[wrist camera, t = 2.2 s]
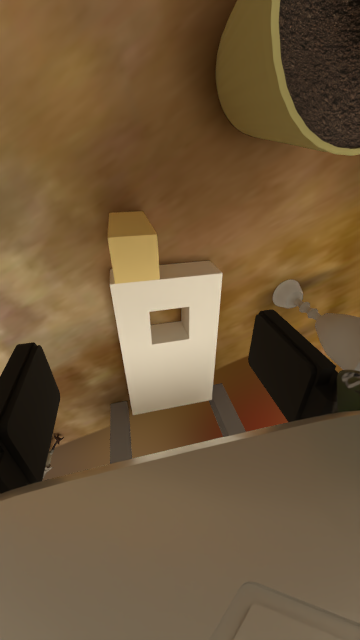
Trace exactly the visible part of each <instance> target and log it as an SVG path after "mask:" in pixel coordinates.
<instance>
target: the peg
mask: <svg viewBox="0 0 360 640" xmlns="http://www.w3.org/2000/svg"><path fill="white" fill-rule="evenodd" d="M107 238H108V244H109V250H110V256H111V262H112V269H113V275H114V281H115V284H119V283H129V282H139V281H149V280H159V279H160V274H159V257H158V240H157V233H156V232H155V230H154V228H153V227H152V225H151V224H150V222H149V220H148V219H147V217H146V216H145V214H144V212H143V211H134V212H114V213H109V223H108V237H107Z"/></svg>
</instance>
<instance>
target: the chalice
mask: <svg viewBox="0 0 360 640" xmlns="http://www.w3.org/2000/svg"><path fill="white" fill-rule="evenodd" d="M302 299H303V291H302V290H301V287H300V285H299V283H298V282H297V281H295V280H286V281H284V282H282V283H281V284H280V285H279V286H278V287H277V288H276V289H275V291H274V294H273V302H274V304H275V305H276V306H279V307H286V308H293V307H296V306H298V307H299V308H300V309H299V310H300V312H306V313H307V314H308V317H309V318H313V319H315V320H316V321H317V322H316V324H315V327H316V331H317V334H318V337H319V340H320V343H321V345H322V346H323V348H324V350H325V352H326V354H327V355H328V356H329V357H330V358H331V359H332V360H333V361H334V362H335V363H337V364H338V365H339V366H340V367H341V368H342V369H343V370H356V371H360V318H359V317H354V316H350V315H344V314H333V313H326V314H324V315H322V316H321V315H320V314H319V313H318V310H317V309H312V308H310V303H309V302H305V303H304V302H302Z"/></svg>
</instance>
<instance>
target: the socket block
mask: <svg viewBox="0 0 360 640" xmlns="http://www.w3.org/2000/svg"><path fill="white" fill-rule="evenodd" d="M159 274H160V279H159V280H149V281H139V282H129V283H119V284H115V281H114V275H113V269H110V289H111V295H112V300H113V306H114V312H115V317H116V323H117V329H118V334H119V340H120V346H121V351H122V357H123V363H124V368H125V374H126V379H127V385H128V391H129V396H130V402H131V408H132V413H133V415H137V414H141V413H147V412H152V411H157V410H162V409H167V408H172V407H177V406H183V405H188V404H192V403H198V402H203V401H208V400H212V391H213V379H214V367H215V355H216V344H217V332H218V320H219V308H220V297H221V285H222V272H221V271H220V270H219V269H218V268H217V267H216V266H215V265H214V264H213V263H212V262H211V261H198V262H187V263H176V264H165V265H159ZM175 308H181V321H178V322H170V323H163V324H155V325H150V315H149V312H150V311H158V310H167V309H175Z"/></svg>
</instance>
